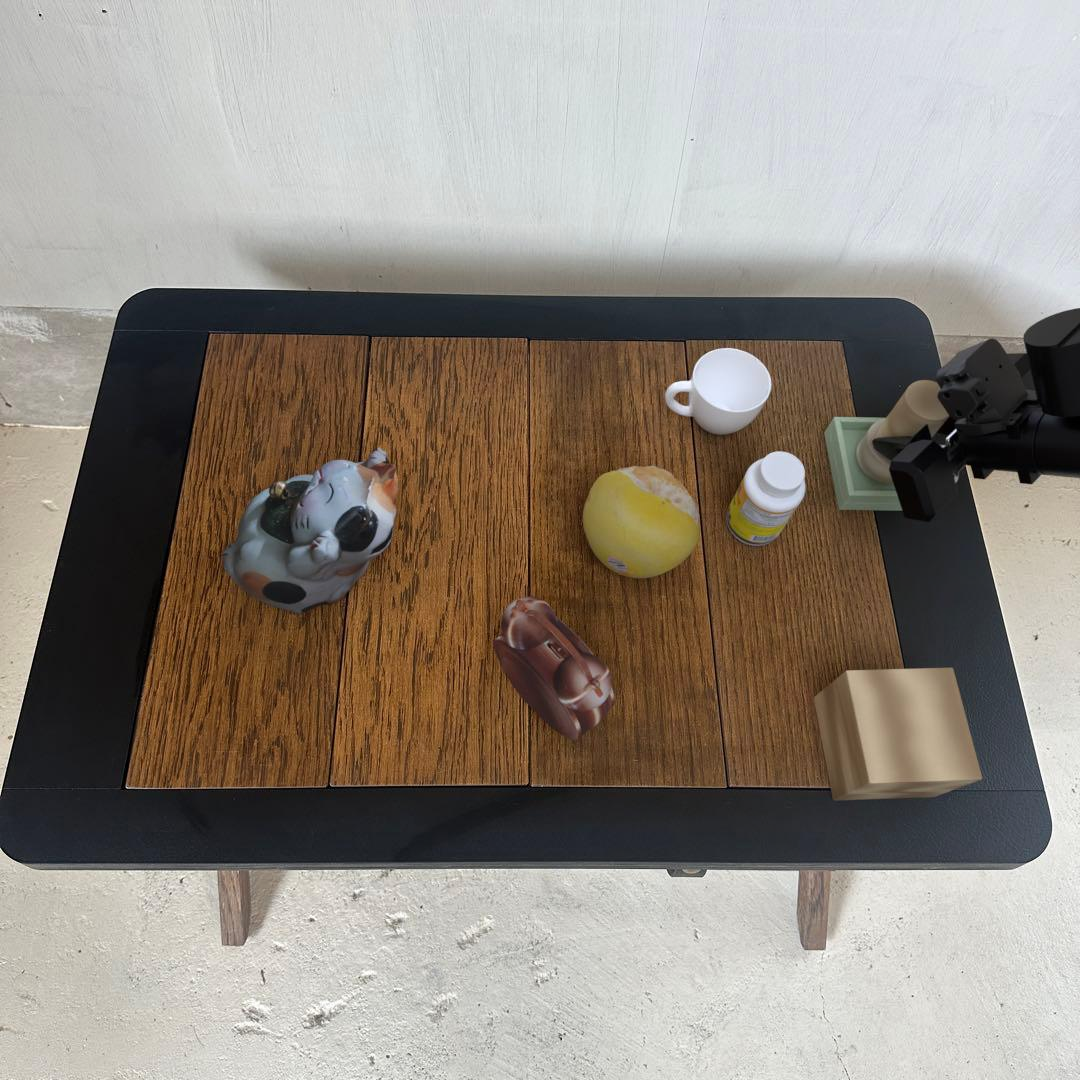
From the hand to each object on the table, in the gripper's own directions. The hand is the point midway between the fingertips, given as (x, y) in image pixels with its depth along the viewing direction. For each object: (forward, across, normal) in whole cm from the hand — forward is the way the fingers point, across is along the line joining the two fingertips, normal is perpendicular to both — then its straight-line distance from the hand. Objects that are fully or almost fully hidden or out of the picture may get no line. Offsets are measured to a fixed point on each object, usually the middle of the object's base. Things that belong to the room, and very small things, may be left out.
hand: (888, 430), depth 82 cm
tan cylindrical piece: (+2, 0, +4) cm, 4 cm away
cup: (+15, +8, -6) cm, 18 cm away
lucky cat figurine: (+25, +47, -16) cm, 55 cm away
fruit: (+11, +25, -2) cm, 27 cm away
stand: (-9, +23, +18) cm, 30 cm away
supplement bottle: (+7, +14, +2) cm, 16 cm away
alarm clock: (+7, +41, +2) cm, 42 cm away
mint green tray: (+3, 0, +5) cm, 6 cm away
